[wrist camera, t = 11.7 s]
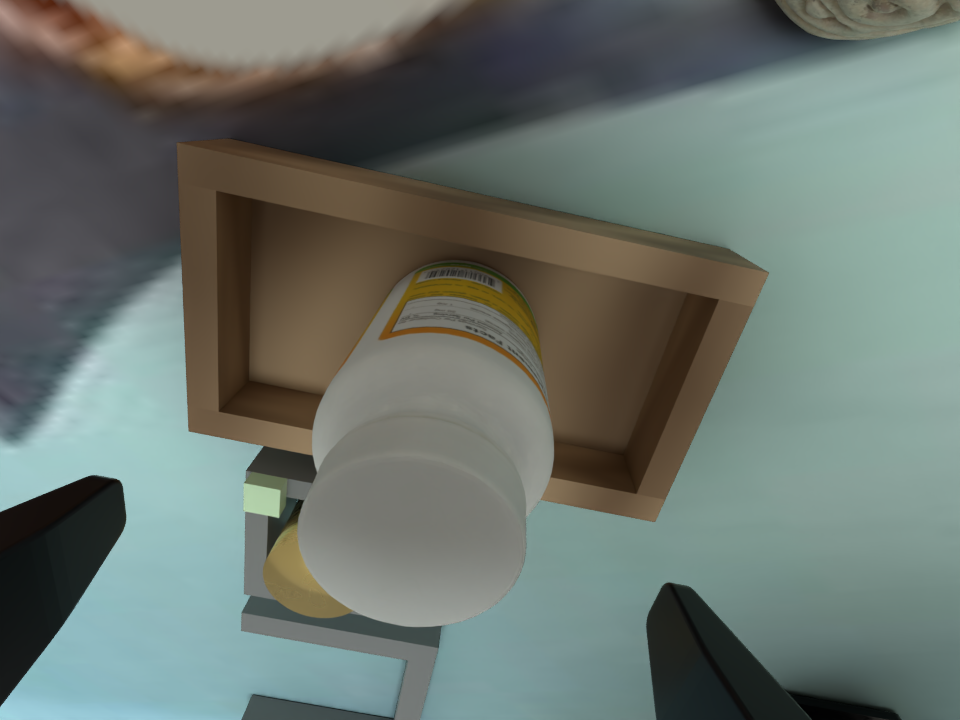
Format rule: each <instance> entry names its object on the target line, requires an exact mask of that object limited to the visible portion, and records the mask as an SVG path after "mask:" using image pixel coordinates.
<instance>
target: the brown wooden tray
mask: <svg viewBox="0 0 960 720" xmlns="http://www.w3.org/2000/svg"><path fill="white" fill-rule="evenodd" d="M177 163H178V187H179V211H180V236H181V260H182V284H183V308H184V332H185V356H186V380H187V404H188V428H189V431H190V432H195V433H200V434H205V435H210V436H215V437H220V438H226V439H231V440H236V441H241V442H246V443H251V444H256V445H262V446H267V447H272V448H277V449H282V450H287V451H292V452H297V453H303V454H308V455H313V453H312V431H313V424H314V420H315V416H316V412H317V409H318V407H319V404H320V402H321V400H322V398H323V396H324V394H325V392H326V390H327V388H328V386H329V384H330V383H331V381H332V379H333V378H334V376H335V374H336V373H337V371H338V370H339V368H340V367H341V365H342V364H343V362H344V361H345V359H346V358H347V356H348V355H349V353H350V352H351V350H352V349H353V347H354V346H355V344H356V343H357V341H358V340H359V338H360V337H361V335H362V334H363V332H364V331H365V329H366V328H367V326H368V325H369V323H370V321H371V320H372V318H373V317H374V315H375V314H376V312H377V310H378V309H379V307H380V306H381V304H382V303H383V301H384V300H385V298H386V297H387V295H388V294H389V293H390V292H391V290H392V289H393V288H394V287H395V285H396V284H397V283H398V282H399V281H400V280H402V279H403V278H404V277H405V276H407V275H408V274H409V273H411V272H413V271H415V270H416V269H418V268H420V267H423V266H425V265H428V264H431V263H435V262H439V261H446V260H462V261H470V262H475V263H478V264H482V265H484V266H487V267H489V268H492V269H494V270H495V271H497V272H499V273H501V274H502V275H504V276H505V277H506V278H508V279H509V280H510V281H512V282H513V283H514V284H515V285H516V286H517V287H518V289H519V290H520V291H521V292H522V294H523V295H524V296H525V298H526V299H527V301H528V303H529V305H530V307H531V309H532V312H533V315H534V317H535V321H536V325H537V329H538V335H539V342H540V349H541V355H542V363H543V370H544V377H545V383H546V389H547V395H548V401H549V408H550V414H551V421H552V429H553V439H554V461H553V468H552V473H551V476H550V479H549V482H548V485H547V488H546V490H545V492H544V494H543V496H542V498H541V499H540V500H544V501H549V502H554V503H559V504H565V505H570V506H575V507H580V508H585V509H590V510H595V511H600V512H606V513H611V514H616V515H621V516H626V517H631V518H636V519H642V520H647V521H652V522H655V521H656V519H657V517H658V514H659V512H660V510H661V508H662V506H663V504H664V501H665V499H666V497H667V495H668V493H669V490H670V488H671V486H672V484H673V482H674V480H675V477H676V475H677V473H678V471H679V469H680V466H681V464H682V462H683V460H684V458H685V455H686V453H687V451H688V449H689V447H690V445H691V442H692V440H693V438H694V436H695V434H696V431H697V429H698V427H699V425H700V423H701V421H702V418H703V416H704V414H705V412H706V410H707V407H708V405H709V403H710V401H711V399H712V397H713V394H714V392H715V390H716V388H717V386H718V383H719V381H720V379H721V377H722V375H723V372H724V370H725V368H726V366H727V364H728V362H729V359H730V357H731V355H732V353H733V351H734V348H735V346H736V344H737V342H738V340H739V338H740V335H741V333H742V331H743V329H744V327H745V324H746V322H747V320H748V318H749V316H750V313H751V311H752V309H753V307H754V305H755V303H756V300H757V298H758V296H759V294H760V292H761V289H762V287H763V285H764V283H765V281H766V279H767V276H768V274H769V273H768V272H767V271H765V270H763V269H762V268H760V267H758V266H757V265H755V264H753V263H752V262H750V261H748V260H747V259H745V258H743V257H742V256H740V255H738V254H737V253H735V252H733V251H731V250H730V249H726V248H722V247H717V246H713V245H708V244H704V243H699V242H695V241H690V240H686V239H681V238H677V237H672V236H668V235H663V234H659V233H654V232H650V231H645V230H641V229H636V228H632V227H627V226H623V225H618V224H613V223H609V222H604V221H600V220H595V219H591V218H586V217H582V216H577V215H573V214H568V213H564V212H559V211H555V210H550V209H546V208H541V207H537V206H532V205H528V204H523V203H519V202H514V201H510V200H505V199H501V198H496V197H491V196H487V195H482V194H478V193H473V192H469V191H464V190H460V189H455V188H451V187H446V186H442V185H437V184H433V183H428V182H424V181H419V180H415V179H410V178H406V177H401V176H397V175H392V174H388V173H383V172H379V171H374V170H369V169H365V168H360V167H356V166H351V165H347V164H342V163H338V162H333V161H329V160H324V159H320V158H315V157H311V156H306V155H302V154H297V153H293V152H288V151H284V150H279V149H275V148H270V147H266V146H261V145H257V144H252V143H247V142H243V141H238V140H234V139H229V138H228V139H215V140H203V141H190V142H178V143H177Z"/></svg>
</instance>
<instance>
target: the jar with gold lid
mask: <svg viewBox="0 0 960 720" xmlns="http://www.w3.org/2000/svg"><path fill="white" fill-rule="evenodd" d="M303 502H304V500H300V499H299V500H298V502H297V504H296V505H295V507H294V509H293V511H292V513H291V515H290V516H289V518H288V520H287V522H286V524H285V526H284V528H283V529H282V531H281V533H280V535H279V537H278V539H277V541H276V542H275V544H274V546H273V548H272V550H271V552H270V554H269V555H268V557H267V559H266V561H265V563H264V566H263V579H264V583H265V585H266V587H267V589H268V591H269V592H270V593H271V595H272V596H273V597H274V598H275V599H276V600H277V601H278V602H279V603H281V604H282V605H283V606H285V607H287V608H288V609H290V610H292V611H294V612H297V613H299V614H302V615H305V616H310V617H316V618H334V617H339V616H343V615H346V614H348V613H350V612H352V611H353V610H351V609H349V608H348V607H346V606H345V605H343V604H341V603H340V602H338V601H337V600H336V599H334V598H333V597H332V596H330V595H329V594H328V593H327V592H326V591H325V590H324V589H323V588H322V587H321V586H320V585H319V584H318V582H317V581H316V580H315V579H314V577H313V576H312V575H311V573H310V572H309V570H308V568H307V567H306V565H305V562H304V560H303V557H302V555H301V552H300V549H299V543H298V536H297V527H298V519H299V515H300V511H301V508H302V505H303Z"/></svg>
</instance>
